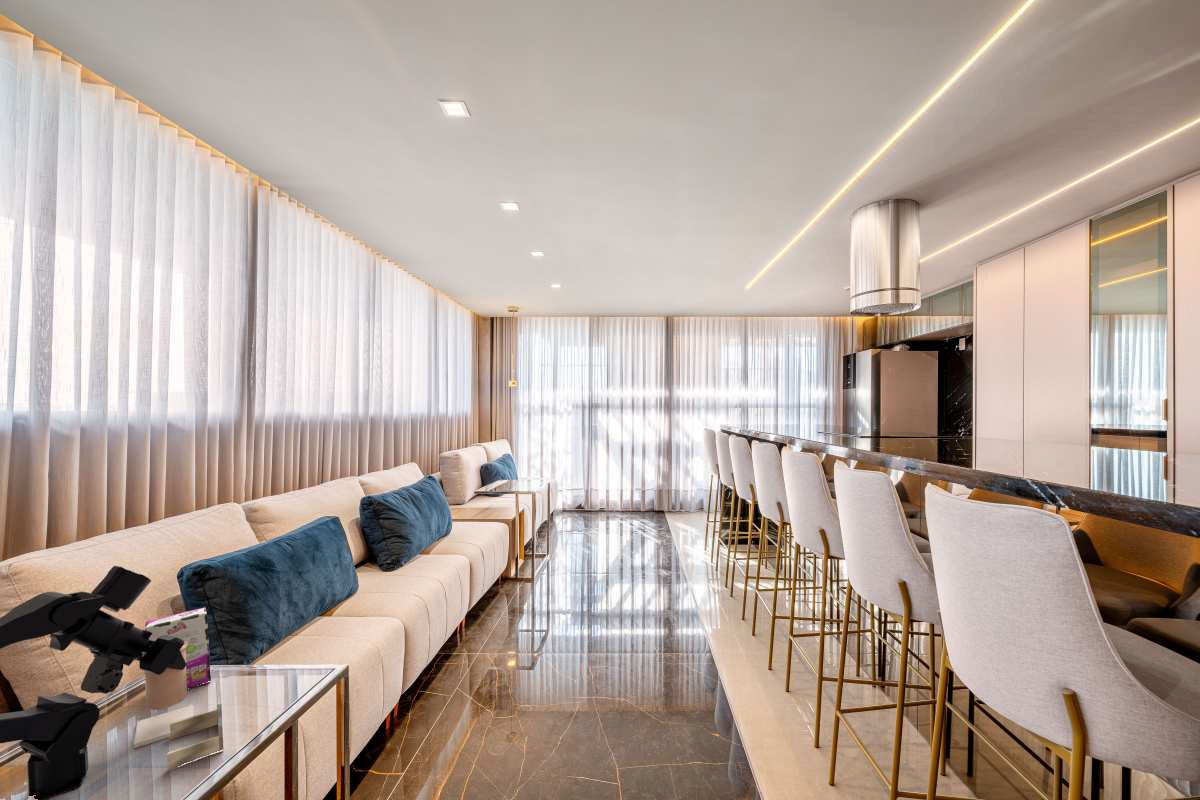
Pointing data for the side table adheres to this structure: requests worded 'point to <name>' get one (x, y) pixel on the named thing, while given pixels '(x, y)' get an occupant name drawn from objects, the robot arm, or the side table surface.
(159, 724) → the ceramic tile
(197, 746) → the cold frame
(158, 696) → the terracotta pot
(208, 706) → the side table surface
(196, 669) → the candy bar box
